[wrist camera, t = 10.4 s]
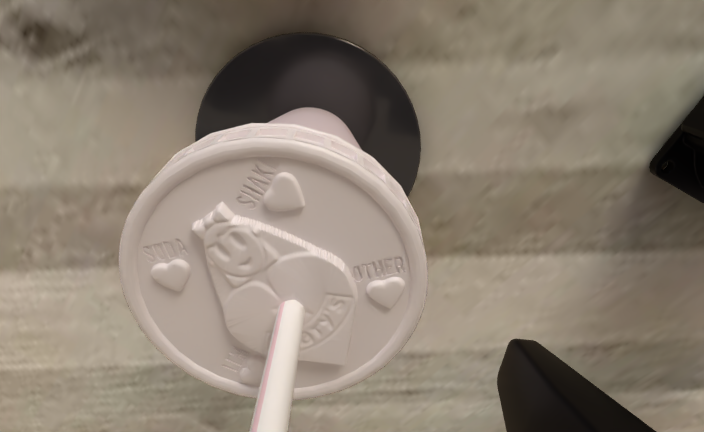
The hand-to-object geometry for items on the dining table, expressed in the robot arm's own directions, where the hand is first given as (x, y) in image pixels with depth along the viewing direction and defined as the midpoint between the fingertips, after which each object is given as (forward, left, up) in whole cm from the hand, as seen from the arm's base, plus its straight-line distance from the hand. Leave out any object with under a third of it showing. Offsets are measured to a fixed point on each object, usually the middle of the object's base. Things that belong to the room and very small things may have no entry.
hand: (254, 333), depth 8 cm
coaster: (0, 0, -12) cm, 12 cm away
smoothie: (0, 0, -11) cm, 11 cm away
